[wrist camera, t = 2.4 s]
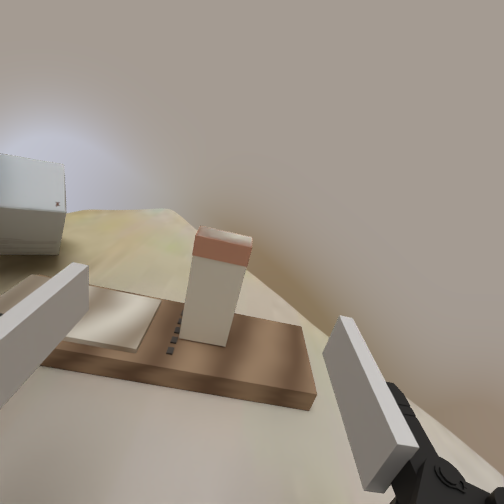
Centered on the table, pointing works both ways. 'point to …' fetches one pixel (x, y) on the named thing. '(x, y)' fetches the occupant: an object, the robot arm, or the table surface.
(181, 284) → the table surface
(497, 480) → the table surface
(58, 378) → the table surface
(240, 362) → the board
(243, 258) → the stub
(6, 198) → the supplement box
